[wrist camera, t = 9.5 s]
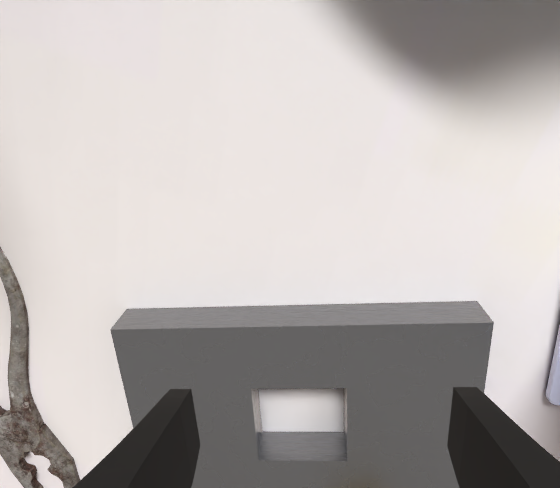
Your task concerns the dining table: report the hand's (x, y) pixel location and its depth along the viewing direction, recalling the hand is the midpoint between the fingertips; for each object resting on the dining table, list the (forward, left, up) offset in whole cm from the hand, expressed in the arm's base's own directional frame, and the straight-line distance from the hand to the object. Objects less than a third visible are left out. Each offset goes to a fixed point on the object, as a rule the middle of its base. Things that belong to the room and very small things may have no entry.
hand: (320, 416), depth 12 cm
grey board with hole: (+1, +8, -10) cm, 13 cm away
